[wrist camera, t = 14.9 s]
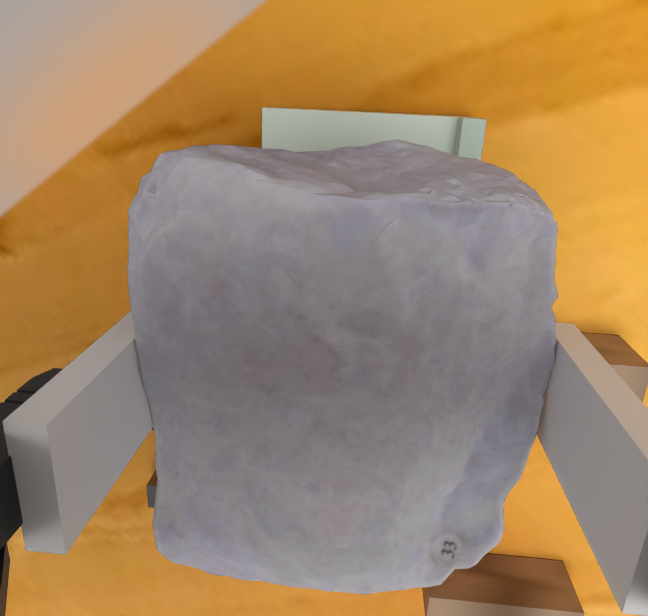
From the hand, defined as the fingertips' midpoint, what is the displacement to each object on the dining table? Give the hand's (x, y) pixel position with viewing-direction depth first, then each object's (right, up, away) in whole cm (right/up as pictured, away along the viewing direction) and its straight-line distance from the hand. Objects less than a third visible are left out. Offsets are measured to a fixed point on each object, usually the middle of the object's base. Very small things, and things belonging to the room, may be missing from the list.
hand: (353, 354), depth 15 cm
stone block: (0, 0, +1) cm, 1 cm away
